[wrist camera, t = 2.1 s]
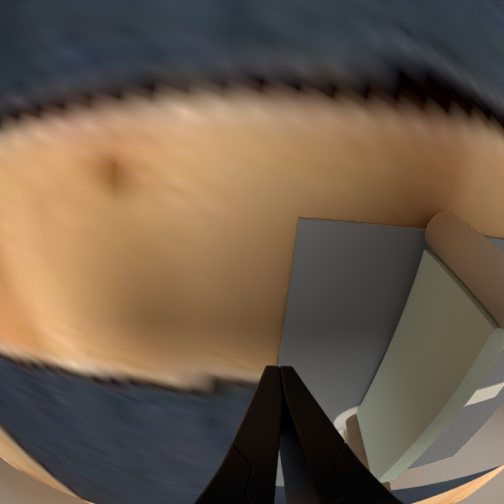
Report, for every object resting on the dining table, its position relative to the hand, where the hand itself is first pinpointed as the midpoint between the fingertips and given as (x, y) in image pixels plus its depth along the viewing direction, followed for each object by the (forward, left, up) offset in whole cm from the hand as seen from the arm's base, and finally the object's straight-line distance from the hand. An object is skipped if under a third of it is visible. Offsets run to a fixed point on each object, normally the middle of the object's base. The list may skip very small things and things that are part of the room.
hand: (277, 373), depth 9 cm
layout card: (-8, -11, -3) cm, 14 cm away
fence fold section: (-1, -6, -3) cm, 7 cm away
